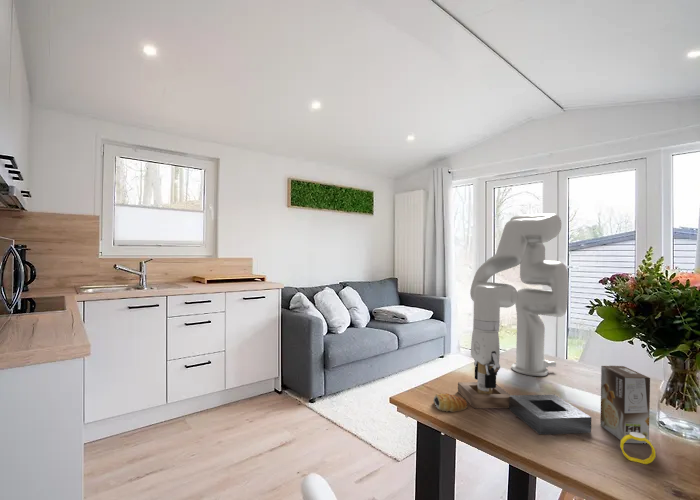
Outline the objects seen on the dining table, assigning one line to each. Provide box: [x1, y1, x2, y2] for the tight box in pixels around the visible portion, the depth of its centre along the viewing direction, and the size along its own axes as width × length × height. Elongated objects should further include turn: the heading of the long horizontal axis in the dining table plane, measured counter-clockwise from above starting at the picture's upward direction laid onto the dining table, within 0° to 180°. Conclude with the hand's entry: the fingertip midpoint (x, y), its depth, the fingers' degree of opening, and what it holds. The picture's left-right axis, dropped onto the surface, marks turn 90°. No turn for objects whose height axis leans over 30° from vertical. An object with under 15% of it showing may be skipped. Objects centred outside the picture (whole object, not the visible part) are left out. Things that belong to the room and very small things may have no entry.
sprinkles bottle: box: [476, 362, 493, 394], centre depth 110 cm, size 5×5×14 cm
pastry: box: [432, 393, 468, 413], centre depth 104 cm, size 9×7×4 cm
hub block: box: [508, 394, 593, 435], centre depth 97 cm, size 14×14×4 cm
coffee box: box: [599, 365, 651, 445], centre depth 90 cm, size 9×6×16 cm
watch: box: [619, 432, 657, 465], centre depth 79 cm, size 6×3×6 cm, turn 62°
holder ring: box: [457, 381, 511, 409], centre depth 110 cm, size 12×12×3 cm
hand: (484, 382), depth 110 cm, fingers open, 6 cm apart
